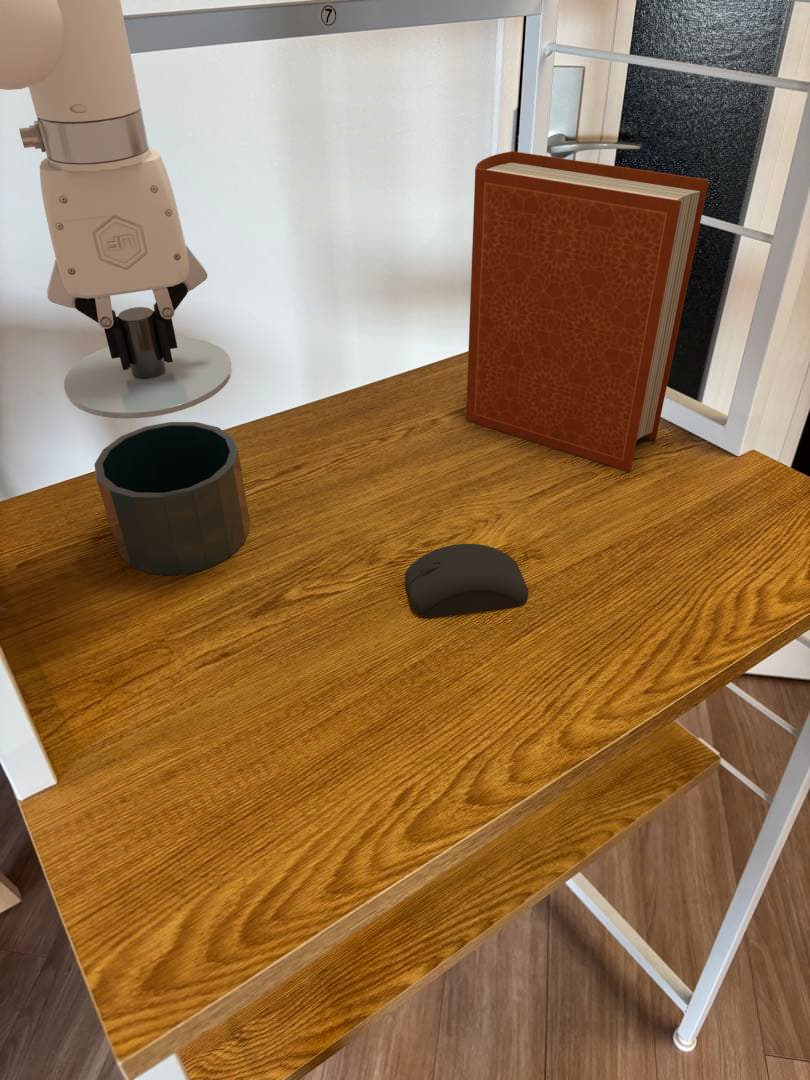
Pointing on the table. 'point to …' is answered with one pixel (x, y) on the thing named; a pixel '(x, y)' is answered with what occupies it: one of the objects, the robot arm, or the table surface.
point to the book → (577, 299)
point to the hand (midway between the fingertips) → (145, 358)
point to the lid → (147, 373)
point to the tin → (174, 497)
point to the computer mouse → (464, 581)
